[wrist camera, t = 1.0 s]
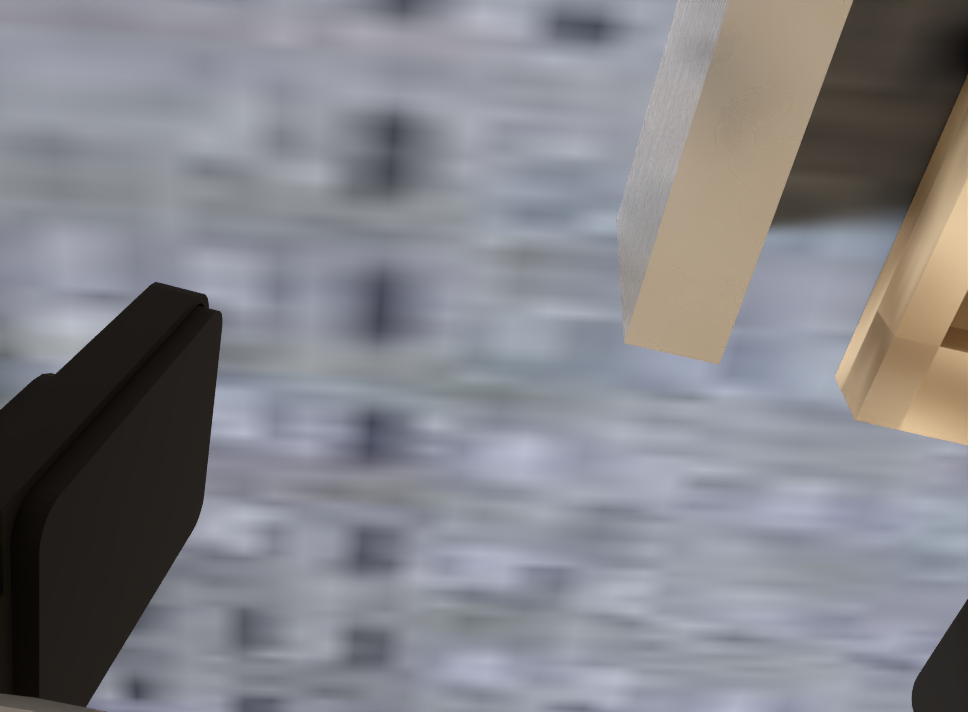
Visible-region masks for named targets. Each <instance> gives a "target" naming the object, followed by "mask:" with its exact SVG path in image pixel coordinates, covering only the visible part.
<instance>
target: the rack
mask: <svg viewBox="0 0 968 712" xmlns="http://www.w3.org/2000/svg"><path fill="white" fill-rule="evenodd" d="M835 378H836V380H837V383H838V385H839V387H840V389H841V391H842V393H843V395H844V397H845V399H846V402H847V404H848V406H849V408H850V410H851V412H852V414H853V416H854V419H855V420H857V421H862V422H866V423H871V424H875V425H880V426H884V427H889V428H893V429H898V430H902V431H907V432H911V433H915V434H920V435H924V436H929V437H933V438H938V439H942V440H947V441H951V442H956V443H960V444H964V445H968V75H967V78H966V80H965V82H964V84H963V87H962V89H961V91H960V93H959V96H958V98H957V100H956V103H955V105H954V107H953V109H952V112H951V114H950V116H949V118H948V121H947V123H946V125H945V128H944V130H943V132H942V134H941V137H940V139H939V141H938V143H937V146H936V148H935V150H934V153H933V155H932V157H931V159H930V162H929V164H928V166H927V168H926V171H925V173H924V175H923V178H922V180H921V182H920V184H919V187H918V189H917V191H916V193H915V196H914V198H913V200H912V203H911V205H910V207H909V209H908V212H907V214H906V216H905V218H904V221H903V223H902V225H901V228H900V230H899V232H898V234H897V237H896V239H895V241H894V243H893V246H892V248H891V250H890V253H889V255H888V257H887V259H886V262H885V264H884V266H883V268H882V271H881V273H880V275H879V278H878V280H877V282H876V284H875V287H874V289H873V291H872V293H871V296H870V298H869V300H868V303H867V305H866V307H865V309H864V312H863V314H862V316H861V318H860V321H859V323H858V325H857V328H856V330H855V332H854V334H853V337H852V339H851V341H850V343H849V346H848V348H847V350H846V353H845V355H844V357H843V359H842V362H841V364H840V366H839V368H838V371H837V373H836V375H835Z"/></svg>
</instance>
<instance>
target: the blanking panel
mask: <svg viewBox="0 0 968 712" xmlns="http://www.w3.org/2000/svg"><path fill="white" fill-rule="evenodd" d="M852 2H853V0H678V2H677V6H676V9H675V13H674V16H673V20H672V24H671V27H670V31H669V34H668V38H667V41H666V45H665V48H664V52H663V56H662V59H661V63H660V66H659V70H658V73H657V77H656V80H655V84H654V88H653V91H652V95H651V98H650V102H649V105H648V109H647V112H646V116H645V120H644V123H643V127H642V130H641V134H640V137H639V141H638V145H637V148H636V152H635V155H634V159H633V162H632V166H631V169H630V173H629V177H628V180H627V184H626V187H625V191H624V194H623V198H622V201H621V205H620V209H619V212H618V216H617V219H616V220H617V236H618V252H619V268H620V284H621V300H622V316H623V332H624V343H626V344H631V345H635V346H640V347H644V348H649V349H653V350H658V351H662V352H666V353H671V354H675V355H680V356H684V357H689V358H693V359H698V360H702V361H706V362H711V363H715V364H720V361H721V359H722V356H723V353H724V350H725V348H726V345H727V342H728V340H729V337H730V334H731V331H732V329H733V326H734V323H735V320H736V318H737V315H738V312H739V310H740V307H741V304H742V301H743V299H744V296H745V293H746V291H747V288H748V285H749V282H750V280H751V277H752V274H753V271H754V269H755V266H756V263H757V261H758V258H759V255H760V252H761V250H762V247H763V244H764V242H765V239H766V236H767V233H768V231H769V228H770V225H771V223H772V220H773V217H774V214H775V212H776V209H777V206H778V203H779V201H780V198H781V195H782V193H783V190H784V187H785V184H786V182H787V179H788V176H789V174H790V171H791V168H792V165H793V163H794V160H795V157H796V154H797V152H798V149H799V146H800V144H801V141H802V138H803V135H804V133H805V130H806V127H807V125H808V122H809V119H810V116H811V114H812V111H813V108H814V106H815V103H816V100H817V97H818V95H819V92H820V89H821V86H822V84H823V81H824V78H825V76H826V73H827V70H828V67H829V65H830V62H831V59H832V57H833V54H834V51H835V48H836V46H837V43H838V40H839V37H840V35H841V32H842V29H843V27H844V24H845V21H846V18H847V16H848V13H849V10H850V8H851V5H852Z"/></svg>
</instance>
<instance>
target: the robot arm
mask: <svg viewBox="0 0 968 712" xmlns="http://www.w3.org/2000/svg"><path fill="white" fill-rule="evenodd" d="M221 332H222V314H221V312H220V311H217V310H213V309H209V303H208V298H207V296H206V295H205V294H201V293H197V292H194V291H190V290H186V289H182V288H178V287H174V286H170V285H166V284H162V283H158V282H155V283H153V284H151V285H150V286H149V287H148V288H147V289H146V290H145V291H144V292H142V293H141V294H140V295H139V296H138V297H137V298H136V299H135V300H134V301H133V302H132V303H131V304H130V305H129V306H128V307H127V308H125V309H124V310H123V311H122V312H121V313H120V314H119V315H118V316H117V317H116V318H115V319H114V320H113V321H112V322H111V323H109V324H108V325H107V326H106V327H105V328H104V329H103V330H102V331H101V332H100V333H99V334H98V335H97V336H96V337H95V338H94V339H92V340H91V341H90V342H89V343H88V344H87V345H86V346H85V347H84V348H83V349H82V350H81V351H80V352H79V353H78V354H76V355H75V356H74V357H73V358H72V359H71V360H70V361H69V362H68V363H67V364H66V365H65V366H64V367H63V368H62V369H60V370H59V371H58V372H57V373H56V374H52V373H48V374H42V375H40V376H39V377H37V378H36V379H34V380H33V381H32V382H31V383H29V384H28V385H27V386H26V387H25V388H24V389H23V390H22V391H21V392H20V393H18V394H17V395H16V396H15V397H14V398H13V399H12V400H11V401H10V402H9V403H7V404H6V405H5V406H4V407H3V408H2V409H1V410H0V712H106V711H101V710H96V709H91V708H86V706H87V704H88V703H89V701H90V699H91V698H92V696H93V694H94V693H95V691H96V690H97V688H98V686H99V685H100V683H101V681H102V680H103V678H104V676H105V675H106V673H107V671H108V670H109V668H110V666H111V665H112V663H113V661H114V660H115V658H116V657H117V655H118V653H119V652H120V650H121V648H122V647H123V645H124V643H125V642H126V640H127V638H128V637H129V635H130V633H131V632H132V630H133V628H134V627H135V625H136V623H137V622H138V620H139V619H140V617H141V615H142V614H143V612H144V610H145V609H146V607H147V605H148V604H149V602H150V600H151V599H152V597H153V595H154V594H155V592H156V590H157V589H158V587H159V586H160V584H161V582H162V581H163V579H164V577H165V576H166V574H167V572H168V571H169V569H170V567H171V566H172V564H173V562H174V561H175V559H176V557H177V556H178V554H179V553H180V551H181V549H182V548H183V546H184V544H185V543H186V541H187V539H188V538H189V536H190V534H191V533H192V531H193V529H194V527H195V525H196V523H197V521H198V518H199V515H200V512H201V508H202V504H203V499H204V491H205V482H206V472H207V463H208V454H209V444H210V435H211V426H212V416H213V407H214V398H215V388H216V379H217V369H218V360H219V351H220V341H221ZM912 707H913V711H914V712H968V599H967V601H966V602H965V604H964V606H963V607H962V609H961V610H960V612H959V613H958V615H957V616H956V618H955V619H954V621H953V622H952V624H951V626H950V627H949V629H948V630H947V632H946V633H945V635H944V636H943V638H942V639H941V641H940V642H939V644H938V646H937V647H936V649H935V650H934V652H933V653H932V655H931V656H930V658H929V659H928V661H927V663H926V664H925V666H924V667H923V669H922V670H921V672H920V673H919V675H918V676H917V678H916V680H915V682H914V686H913V690H912Z"/></svg>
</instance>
